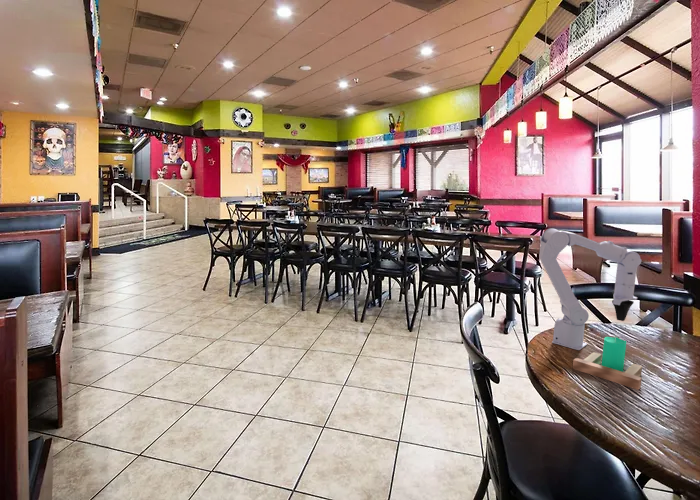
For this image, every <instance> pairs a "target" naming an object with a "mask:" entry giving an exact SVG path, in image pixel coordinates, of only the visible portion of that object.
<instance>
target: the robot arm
mask: <svg viewBox="0 0 700 500" xmlns="http://www.w3.org/2000/svg"><path fill="white" fill-rule="evenodd" d="M539 241H540V247H539V259H540V263H541V264H542V267H543V269H544V270H545V271H546V274H547V276H548V278H549V280H550V282H551V284H552V286H553V288H554V290H555V292H556V294H557V296H558V298H559V302H560V305H561V312H562V314H563V317H562V318H557V319H556V320H555V322H554V326H553V338H552V339H553V340H552V341H551V343H552V344H556V345H559V346H561V347H566V348H569V349H573V350H576V351H580V350H582V349H583V348H585V347H586V346H587V345H588V344H587V342H584V337H585V326H586V323H587V322H588V320H589V317H590V315H589V312H588V311H587V310H586V309H585V308H583V306H582V304H581V303H580V301H579V300H578V299H577V297H576V296H575V293H574V292H573V289H572V288H571V285H570V284H569V281H568V280H567V277H566V276H565V273H564V271H563V270H562V268H561V266H560V263H559V262H558V260H557V257H559V254H560V253H561V252H562V251H563V250H564V249H565V248H566V247H567V246H568V247H571V246H575V245H576V246H578V247H579V246H580V247H583V248H585V249H588V250H592V251H595V254H596V256H597V257H600V258H602V259H604V260H608V261H611V262H613V263H616V264H617V265H616V272H615V273H616V275H615V283H614V291H613V296H612V297H613V299H612V301H611V304H612V305H613V307H614V310H615V317H616V320H617V321H620V322H624V321H625V320H626V319H627V315H628V313H629V311H630V308H631V307H632V305H633V304H634V301H637V300H638V297H637V296H635V295H634V292H635V286H636V275H637V269H638V267H639V266H640V265H641V263H642V260H643V259H641V256H640V254H639V253H638V252H636V251H634V250H630V249H628V247H626V246H620V245H617V244H614V241H611V240H608V241H606V240H604V241H601V242H597V241H595V240H593V239H591V238H587V237H585V236H583V235H580V234H577V233H574V232H571V231H567V230H562V229H561V230H558V229H556V228H552V227H551V228H547V229H546V230H545V231H543V233H542V235H541V237H540V239H539Z"/></svg>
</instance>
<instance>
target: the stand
mask: <svg viewBox="0 0 700 500" xmlns="http://www.w3.org/2000/svg"><path fill="white" fill-rule="evenodd" d="M602 354H603V353H598V352H594V351H593V352H592V353H590V354H589V355H588V356H586V357H585V358H584V359H582V358H578V357H576V358H574V359H573V362H572V370H575V371H578V372H582V373H585V374H588V375H591V376H594V377H598V378H600V379H603V380H606V381H610V382H613V383H616V384H620V385H622V386H625V387H628V388H632V389H633V390H637V391H638V390H640V389H641V387H642V381H643V380H642V378H643V377H641V376H642V373H643V365H639V364H638V363H637V364H636V363H632V364H631V365H630V366H629V367H628V368H627V369H626V370H625V371H623V372H621V371H618V370H615V369H612V368H608V367H605V366H602V365H601V363H602Z"/></svg>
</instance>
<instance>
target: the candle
mask: <svg viewBox="0 0 700 500" xmlns="http://www.w3.org/2000/svg"><path fill="white" fill-rule="evenodd" d="M627 342H628V341H627V340H624V339H621V338H619V337H617V335H615V336H613V337H611V336H605V337H604V338H603V347H602V353H601V354H602V356H601V363H600V365H602V366H605V367H608V368H612V369H615V370H618V371H621V372H624V367H625V359H626V350H627Z"/></svg>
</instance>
